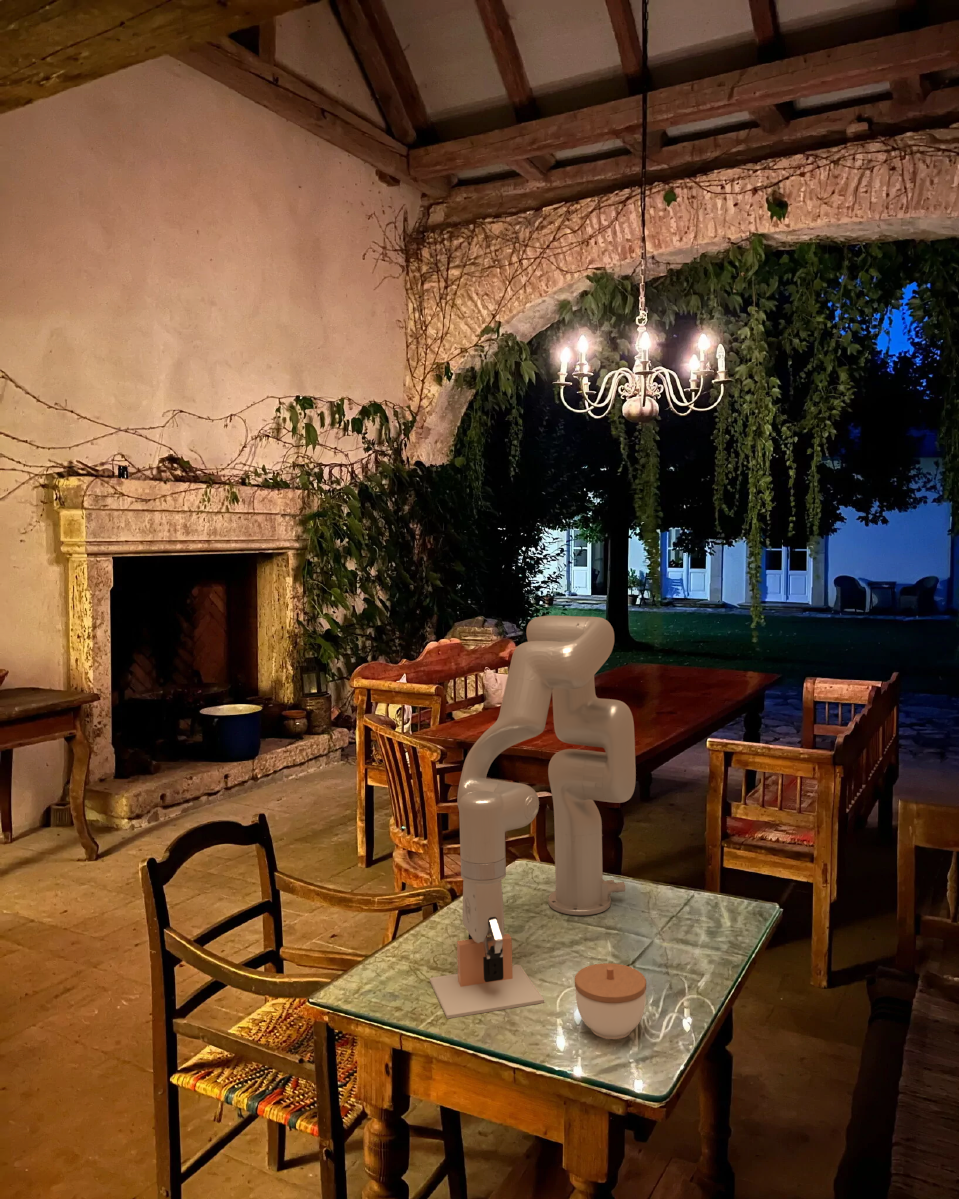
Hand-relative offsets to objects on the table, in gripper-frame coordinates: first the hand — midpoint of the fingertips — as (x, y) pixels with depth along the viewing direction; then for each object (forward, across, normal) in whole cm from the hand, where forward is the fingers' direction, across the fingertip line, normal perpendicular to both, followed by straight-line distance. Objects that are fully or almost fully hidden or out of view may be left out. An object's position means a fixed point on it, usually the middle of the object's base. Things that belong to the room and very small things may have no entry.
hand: (485, 967), depth 154 cm
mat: (+3, +3, -1) cm, 4 cm away
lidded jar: (+3, +20, +14) cm, 25 cm away
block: (+2, 0, 0) cm, 2 cm away
